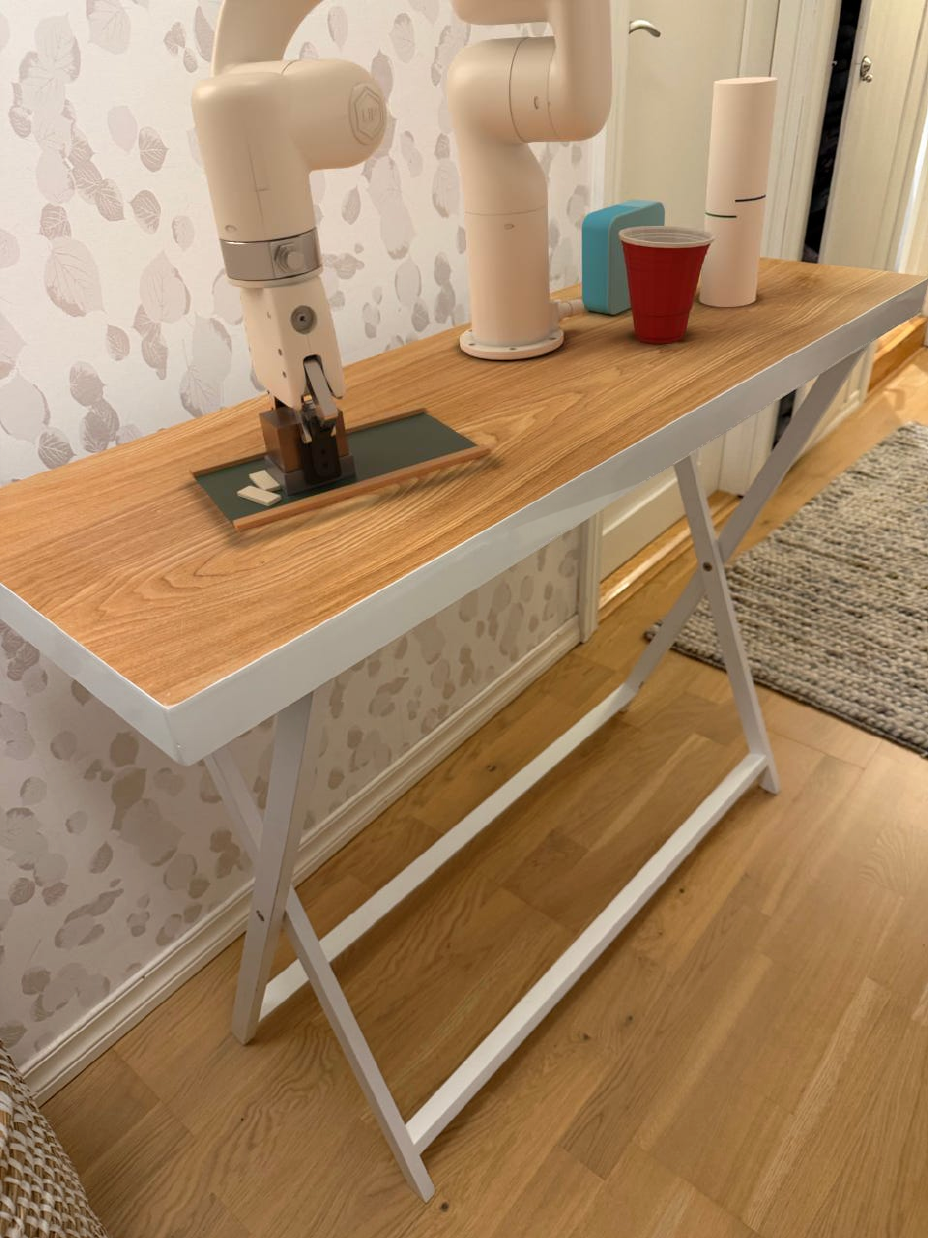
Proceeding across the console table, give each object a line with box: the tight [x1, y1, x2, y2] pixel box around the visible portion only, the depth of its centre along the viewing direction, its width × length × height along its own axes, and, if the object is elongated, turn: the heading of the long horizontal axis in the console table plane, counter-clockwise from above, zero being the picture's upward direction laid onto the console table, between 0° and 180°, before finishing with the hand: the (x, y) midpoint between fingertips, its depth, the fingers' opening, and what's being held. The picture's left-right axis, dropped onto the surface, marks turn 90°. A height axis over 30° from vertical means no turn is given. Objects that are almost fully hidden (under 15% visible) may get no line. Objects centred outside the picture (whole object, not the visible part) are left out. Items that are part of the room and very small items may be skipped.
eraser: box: [258, 398, 356, 496], centre depth 81 cm, size 5×6×6 cm
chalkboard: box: [188, 403, 491, 533], centre depth 85 cm, size 24×14×2 cm, turn 120°
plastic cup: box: [619, 225, 715, 345], centre depth 108 cm, size 11×11×12 cm
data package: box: [581, 198, 666, 316], centre depth 120 cm, size 12×4×12 cm, turn 136°
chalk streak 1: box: [249, 470, 281, 492], centre depth 82 cm, size 2×4×1 cm, turn 30°
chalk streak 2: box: [237, 486, 281, 506], centre depth 80 cm, size 2×4×1 cm, turn 53°
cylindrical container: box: [698, 76, 779, 308], centre depth 115 cm, size 7×7×25 cm
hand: (311, 467), depth 82 cm, fingers closed on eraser, 5 cm apart
